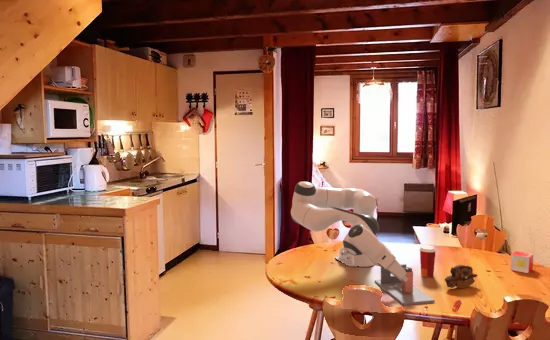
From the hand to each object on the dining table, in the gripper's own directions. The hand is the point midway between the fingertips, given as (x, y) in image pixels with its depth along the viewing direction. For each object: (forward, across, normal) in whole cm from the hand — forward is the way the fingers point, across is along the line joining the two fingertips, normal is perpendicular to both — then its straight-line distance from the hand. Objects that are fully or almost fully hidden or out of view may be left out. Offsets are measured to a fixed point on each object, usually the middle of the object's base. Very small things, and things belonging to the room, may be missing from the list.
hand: (401, 276), depth 189 cm
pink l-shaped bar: (+8, -8, -3) cm, 12 cm away
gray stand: (+9, -5, -4) cm, 10 cm away
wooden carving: (+28, -3, +16) cm, 32 cm away
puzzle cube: (+58, -19, +46) cm, 77 cm away
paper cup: (+23, -21, +11) cm, 33 cm away
